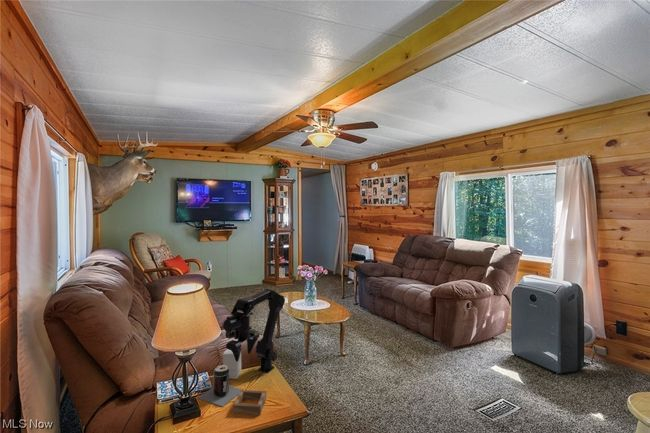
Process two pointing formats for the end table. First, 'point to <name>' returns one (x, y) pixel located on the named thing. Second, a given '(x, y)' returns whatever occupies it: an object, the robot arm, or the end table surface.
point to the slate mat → (221, 400)
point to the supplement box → (232, 364)
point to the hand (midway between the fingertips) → (243, 357)
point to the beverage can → (221, 380)
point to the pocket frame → (249, 408)
